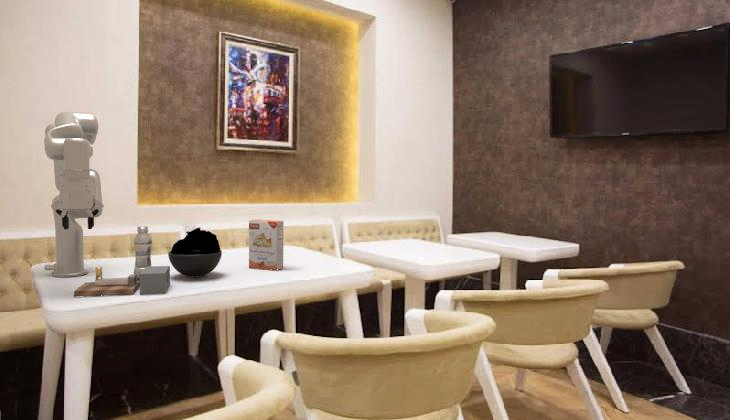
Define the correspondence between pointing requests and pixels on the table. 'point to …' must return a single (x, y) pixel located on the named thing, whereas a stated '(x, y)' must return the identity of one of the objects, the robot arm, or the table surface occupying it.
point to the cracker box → (265, 244)
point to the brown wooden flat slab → (109, 288)
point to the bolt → (108, 279)
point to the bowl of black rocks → (196, 253)
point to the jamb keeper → (154, 280)
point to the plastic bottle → (142, 250)
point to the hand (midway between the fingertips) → (78, 228)
